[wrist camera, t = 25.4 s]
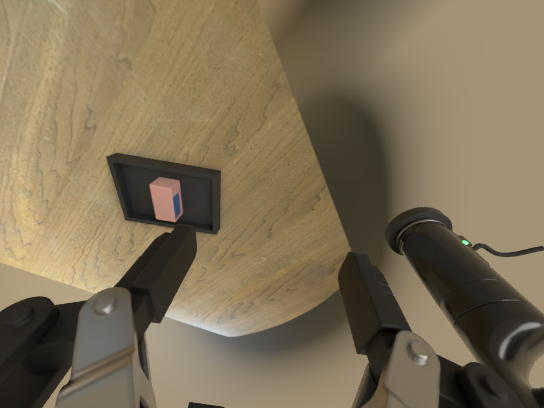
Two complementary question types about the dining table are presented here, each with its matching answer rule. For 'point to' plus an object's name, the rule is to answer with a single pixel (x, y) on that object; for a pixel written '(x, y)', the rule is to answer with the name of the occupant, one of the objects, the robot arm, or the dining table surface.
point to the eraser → (166, 199)
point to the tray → (193, 180)
